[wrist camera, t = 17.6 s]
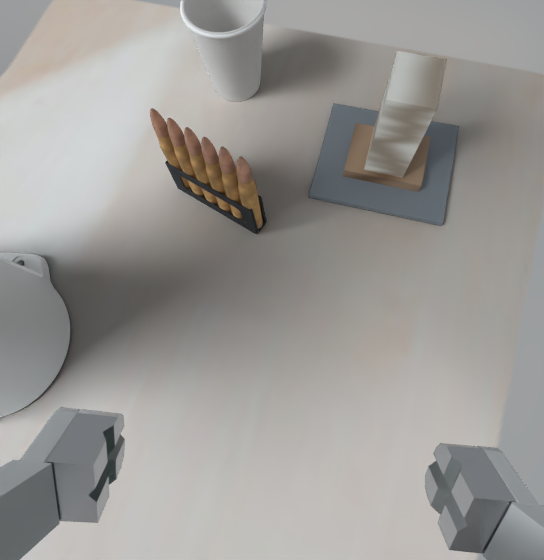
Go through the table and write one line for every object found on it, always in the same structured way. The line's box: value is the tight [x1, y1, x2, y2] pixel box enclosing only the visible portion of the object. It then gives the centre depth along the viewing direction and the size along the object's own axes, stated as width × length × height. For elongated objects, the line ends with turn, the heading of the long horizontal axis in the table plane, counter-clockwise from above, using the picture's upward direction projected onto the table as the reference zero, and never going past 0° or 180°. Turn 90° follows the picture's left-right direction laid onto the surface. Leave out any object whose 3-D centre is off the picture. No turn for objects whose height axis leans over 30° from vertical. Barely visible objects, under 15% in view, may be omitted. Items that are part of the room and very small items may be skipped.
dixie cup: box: [180, 0, 267, 102], centre depth 42 cm, size 8×8×10 cm
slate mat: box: [309, 103, 459, 226], centre depth 42 cm, size 14×12×1 cm
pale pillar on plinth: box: [343, 51, 447, 192], centre depth 37 cm, size 8×6×11 cm
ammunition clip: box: [150, 108, 267, 234], centre depth 36 cm, size 11×2×12 cm, turn 57°
